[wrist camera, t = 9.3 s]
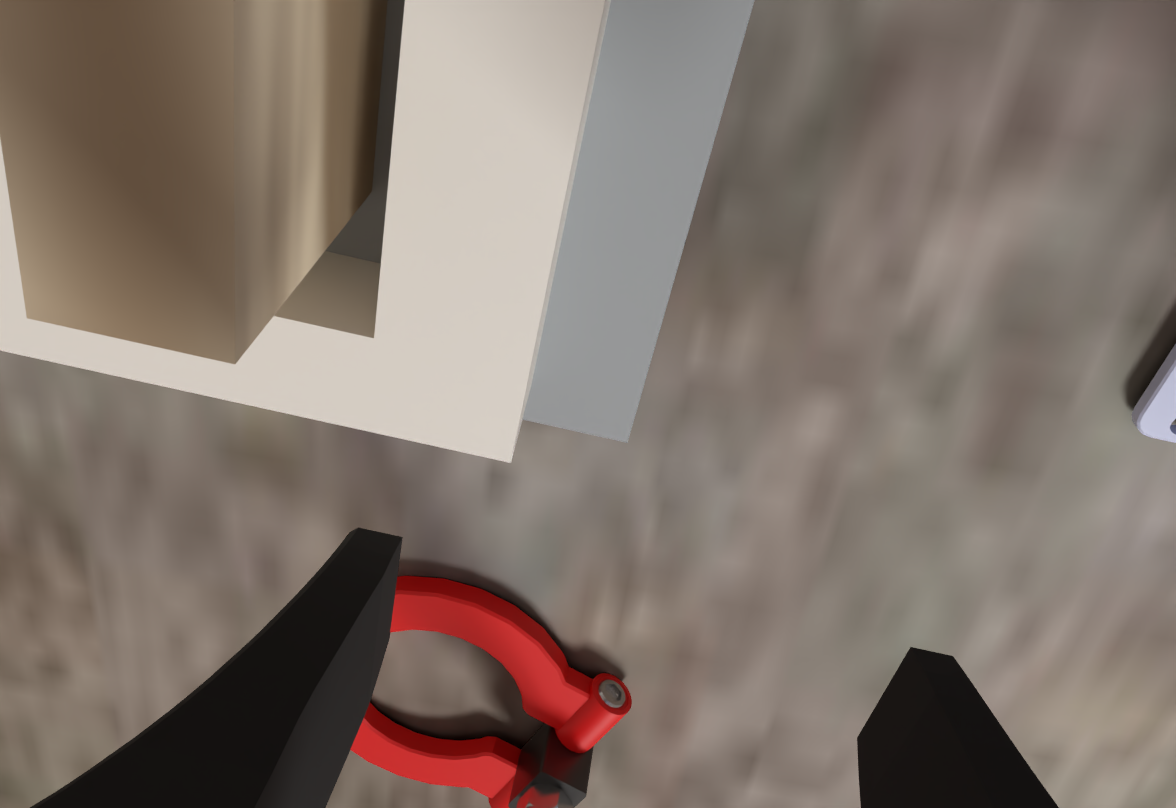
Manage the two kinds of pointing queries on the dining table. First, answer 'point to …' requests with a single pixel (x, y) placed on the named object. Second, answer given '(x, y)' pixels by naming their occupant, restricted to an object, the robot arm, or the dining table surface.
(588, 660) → the dining table surface
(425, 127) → the slotted block
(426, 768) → the tow hook
